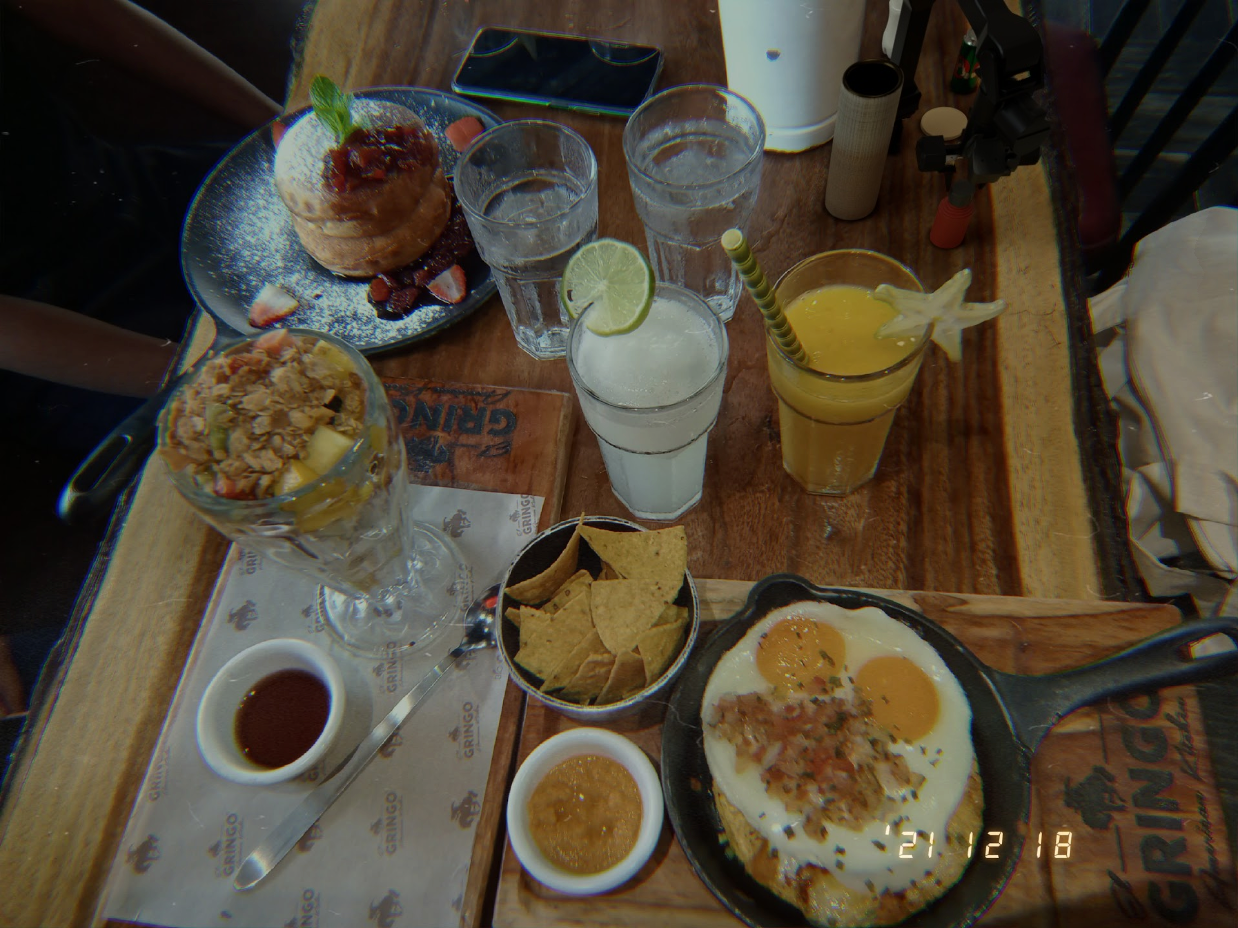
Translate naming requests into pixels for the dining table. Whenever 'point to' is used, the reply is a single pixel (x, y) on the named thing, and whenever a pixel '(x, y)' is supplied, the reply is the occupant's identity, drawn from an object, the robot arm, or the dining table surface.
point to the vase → (862, 136)
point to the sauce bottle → (950, 224)
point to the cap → (961, 193)
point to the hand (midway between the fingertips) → (963, 189)
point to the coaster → (944, 122)
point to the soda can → (965, 65)
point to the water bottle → (891, 26)
